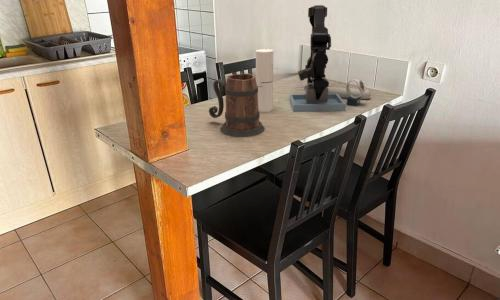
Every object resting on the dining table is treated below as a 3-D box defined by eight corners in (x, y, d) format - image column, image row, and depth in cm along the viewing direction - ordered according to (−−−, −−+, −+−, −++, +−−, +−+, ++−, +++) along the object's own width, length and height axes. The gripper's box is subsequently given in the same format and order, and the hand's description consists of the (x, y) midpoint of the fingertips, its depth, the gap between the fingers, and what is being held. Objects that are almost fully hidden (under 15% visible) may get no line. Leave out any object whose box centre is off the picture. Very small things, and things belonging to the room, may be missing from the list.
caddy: (305, 99, 166) (305, 81, 163) (325, 98, 166) (326, 81, 163) (306, 102, 161) (307, 84, 158) (327, 102, 161) (328, 84, 158)
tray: (289, 100, 172) (289, 94, 171) (336, 99, 172) (337, 93, 171) (293, 111, 157) (293, 104, 156) (345, 110, 157) (345, 104, 156)
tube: (371, 89, 174) (317, 86, 180) (371, 88, 168) (316, 85, 174) (369, 100, 174) (316, 97, 180) (370, 100, 169) (315, 96, 175)
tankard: (273, 125, 143) (273, 74, 134) (249, 140, 130) (248, 84, 121) (223, 115, 154) (221, 67, 146) (197, 128, 141) (193, 76, 133)
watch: (360, 107, 161) (363, 82, 157) (342, 104, 165) (345, 80, 161) (364, 103, 166) (367, 79, 161) (347, 101, 170) (349, 77, 165)
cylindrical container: (271, 112, 157) (271, 52, 147) (254, 111, 158) (254, 51, 148) (273, 107, 163) (274, 49, 153) (257, 106, 165) (257, 48, 154)
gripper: (296, 58, 165) (295, 92, 172) (302, 67, 148) (300, 104, 155) (321, 57, 165) (319, 91, 172) (330, 66, 148) (327, 104, 155)
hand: (316, 97), depth 163 cm, fingers closed on caddy, 5 cm apart
